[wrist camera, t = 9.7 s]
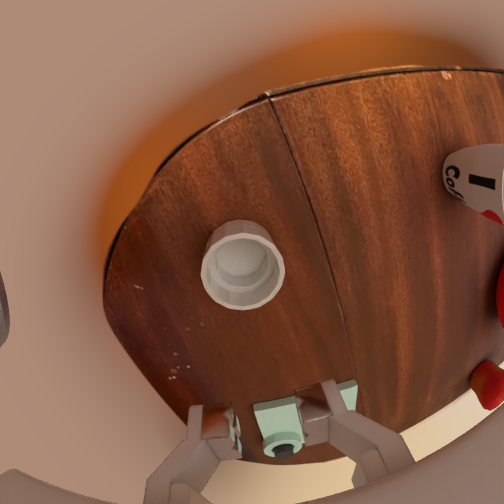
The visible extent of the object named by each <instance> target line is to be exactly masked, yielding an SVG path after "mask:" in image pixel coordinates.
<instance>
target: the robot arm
mask: <svg viewBox="0 0 504 504" xmlns="http://www.w3.org/2000/svg"><path fill="white" fill-rule="evenodd" d="M293 391H294V397H295V401H296V402H295V404H296V409H297V415H298V419H299V422H300V424H301V428H302V434H303V438H304V441H305V445H306V446H311V445H315V444H319V443H323V442H327V441H328V442H329V443H330V444H332V445H333V446H334V447H335V448H337V449H338V450H339V451H341V452H342V453H343V454H345V455H346V456H348V457H349V458H350V459H352V460H353V461H354V462H356V467H355V470H354V473H353V477H352V482H353V486H354V488H353V489H350V490H347V491H344V492H341V493H337V494H334V495H330V496H327V497H323V498H319V499H315V500H311V501H306V502H302V503H297V504H504V403H503V404H502V405H501V406H500V407H498V408H497V409H496V410H495V411H494V412H492V413H491V414H490V415H489V416H487V417H486V418H485V419H483V420H482V421H481V422H480V423H478V424H477V425H476V426H474V427H473V428H471V429H470V430H468V431H467V432H466V433H464V434H463V435H461V436H460V437H458V438H457V439H455V440H454V441H452V442H450V443H449V444H447V445H446V446H444V447H442V448H441V449H439V450H437V451H435V452H434V453H432V454H430V455H428V456H426V457H425V458H423V459H421V460H419V461H417V462H415V460H414V458H413V457H412V455H411V453H410V451H409V449H408V447H407V445H406V443H405V441H404V439H403V437H402V436H401V435H400V434H398V433H396V432H394V431H392V430H390V429H388V428H386V427H384V426H382V425H380V424H378V423H376V422H374V421H372V420H370V419H368V418H367V417H365V416H363V415H361V414H359V413H357V412H356V411H354V410H349V411H348V409H347V407H346V405H345V402H344V400H343V398H342V396H341V393H340V391H339V389H338V387H337V385H336V382H335V380H333V379H331V380H328V381H324V382H321V383H316V384H313V385H309V386H305V387H301V388H298V389H294V390H293ZM239 437H240V426H239V421H238V418H237V415H236V414H235V413H233V406H232V404H231V402H226V403H216V404H206V405H195V406H191V407H190V409H189V415H188V424H187V434H186V440H182V441H181V442H180V444H179V445H178V446H177V447H176V448H175V449H174V450H173V451H172V453H171V454H170V455H169V456H168V457H167V458H166V459H165V460H164V462H163V463H162V464H161V465H160V466H159V467H158V468H157V469H156V470H155V471H154V472H153V473H152V474H151V475H150V477H149V478H148V479H147V481H146V488H145V495H144V502H143V504H212V503H211V502H209V501H208V500H207V499H206V498H204V497H203V496H202V495H201V494H200V493H201V491H202V490H203V489H204V487H205V486H206V484H207V483H208V481H209V479H210V478H211V476H212V475H213V473H214V472H215V470H216V468H217V467H218V465H219V463H220V461H223V460H232V459H239V458H242V449H241V443H240V441H239V439H238V438H239ZM0 504H116V503H112V502H107V501H103V500H99V499H95V498H91V497H87V496H84V495H81V494H77V493H74V492H71V491H68V490H65V489H62V488H59V487H57V486H54V485H51V484H49V483H46V482H43V481H41V480H38V479H36V478H34V477H32V476H29V475H27V474H25V473H23V472H21V471H19V470H17V469H10V470H8V471H6V472H5V473H3V474H1V475H0Z"/></svg>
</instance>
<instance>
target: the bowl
mask: <svg viewBox="0 0 504 504" xmlns="http://www.w3.org/2000/svg"><path fill="white" fill-rule="evenodd" d="M284 275H285V268H284V262H283V258H282V255H281V253H280V252H279V250H278V248H277V246H276V244H275V242H274V240H273V239H272V237H271V236H270V234H269V233H268V231H267V230H266V229H265V228H263V227H262V226H260V225H259V224H257V223H256V222H253V221H248V220H242V219H238V220H234V221H229V222H226V223H224V224H223V225H221V226H220V227H218V228H217V229H215V231H214V232H213V233H212V235H211V236H210V238H209V239H208V241H207V244H206V248H205V252H204V256H203V261H202V268H201V278H202V282H203V285H204V288H205V290H206V291H207V293H208V294H209V295H210V296H211V297H212V299H213V300H214V301H215V302H217V303H219V304H221V305H223V306H225V307H227V308H229V309H236V310H248V309H253V308H258V307H260V306H262V305H263V304H265V303H267V302H268V301H270V300H271V299H273V297H274V296H275V295H276V293H277V292H278V291H279V289H280V288H281V286H282V283H283V279H284Z"/></svg>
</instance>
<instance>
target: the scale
mask: <svg viewBox="0 0 504 504" xmlns="http://www.w3.org/2000/svg"><path fill="white" fill-rule="evenodd" d="M336 385H337V387H338V389H339V391H340V393H341V396H342V398H343V400H344V402H345V405H346V407H347V409H348V411H349V410H354V411H355V406H356V398H357V388H358V385H357V383H356V381H355V379H352V380H349V381H346V382H343V383H339V384H336ZM295 402H296V401H295V397H294V396H291V397H286V398H282V399H277V400H272V401H267V402H262V403H257V404H253V408H254V413H255V416H256V419H257V422H258V425H259V427H260V430H261V433H262V436H263V438H264V441H263V449H264V452H265V454H266V455H268V456H271V457H275V454H274V447H275V446H278V445H281V444H292V447H293V451H294V453H295V452H297V451H299V450H300V449H301V448H302V443H305V441H304V438H303V434H302V428H301V424H300V422H299V419H298V415H297V409H296V404H295Z"/></svg>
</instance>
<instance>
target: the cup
mask: <svg viewBox="0 0 504 504" xmlns="http://www.w3.org/2000/svg"><path fill="white" fill-rule="evenodd" d="M443 181H444V184H445V187H446V188H447V190H448V191H449V192H450V193H451V194H452V195H454V196H455V197H456V198H457V199H458V200H460V201H461V202H462V203H463V204H465V205H467V206H468V207H470V208H472V209H473V210H475V211H477V212H478V213H480V214H482V215H483V216H485V217H487V218H489V219H492V220H494V221H496V222H498V223H500V224H502V225H504V144H484V145H478V146H472V147H466V148H463V149H461V150H458V151H456V152H453V153H451V154H449V155H448V156H447V158H446V159H445V162H444V165H443Z"/></svg>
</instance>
